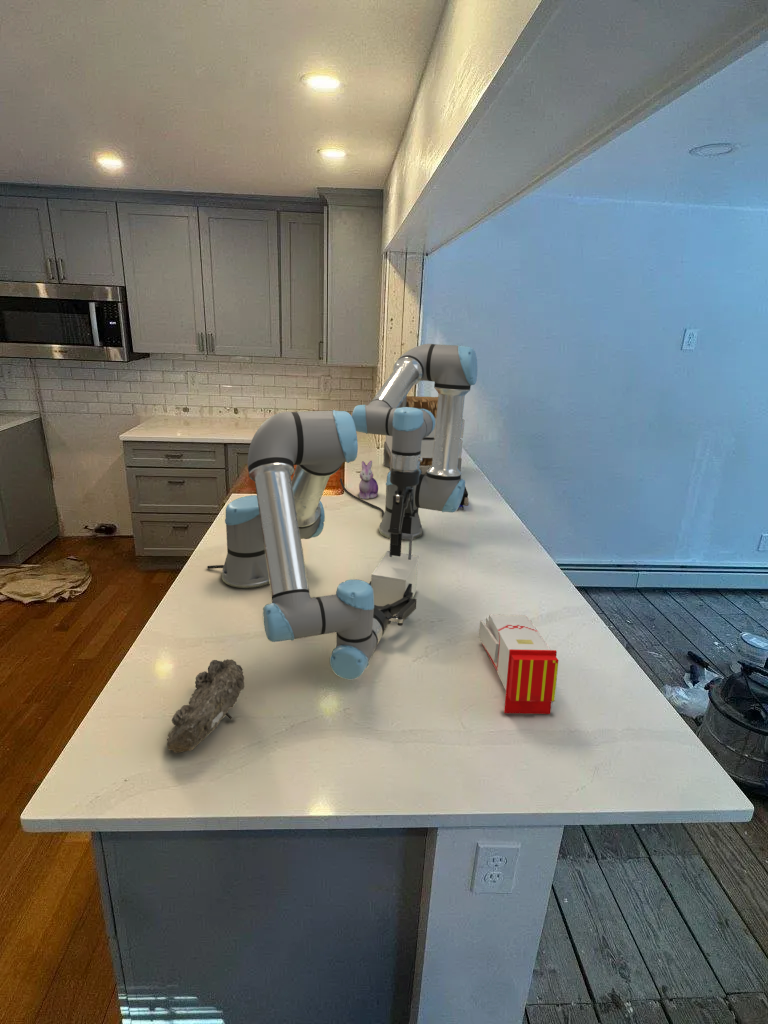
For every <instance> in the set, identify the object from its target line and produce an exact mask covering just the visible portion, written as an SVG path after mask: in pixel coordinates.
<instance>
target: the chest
mask: <svg viewBox="0 0 768 1024" xmlns="http://www.w3.org/2000/svg"><path fill="white" fill-rule="evenodd" d="M418 566H419V560H418V561H417V563H416V564H415V566H414V568H413V570H412V572H411V574H410V576H409V578H408V580H407V581H406V583H405V582H398V581H392V580H386V579H380V578H373V577H370V581H371V587H372V588H373V594H374V605H377V606H385V605H387V604H392V603H394V602H396V601H398V600H400V599H402V598H403V595H404V593H405V591H406V589H407V587H408V585H409V584H412V591H411V592H412V593H413V598H414V596H415V594H416V593H417V581H418V569H419V568H418ZM398 613H399V612H398ZM395 615H396V614H395ZM395 615H393V616H395Z"/></svg>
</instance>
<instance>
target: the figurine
mask: <svg viewBox="0 0 768 1024" xmlns="http://www.w3.org/2000/svg"><path fill="white" fill-rule="evenodd" d="M372 466H373V460H369V461H368V463H367V464H366V462H365V461H364V460H362V461H361V471H360V472H359V478H360V482H359V484H358V490H359V492H358V497H359V498H360V499H362V500H369V499H374V498H377V497H378V493H379V485H378V481H377V480H376V478H374V473H373V471H372Z"/></svg>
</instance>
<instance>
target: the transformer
mask: <svg viewBox="0 0 768 1024" xmlns="http://www.w3.org/2000/svg"><path fill="white" fill-rule="evenodd" d="M437 402H438V396H415V395H414V396H413V395H412V396H411V395H408V394H407V395H406V397H405V398H404V400H403V402H402V403H401V405H400V406H399V408H402V407H412V408H418V409H426V410H428V411H430V412H431V413H432V414H433V416H434V418H435V424H436V413H437ZM464 429H465V419H464V418H462V428H461V437H460V447H459V456H458V465H457V468H458V470H459V471H460V472H461V473H462V461H463V460H462V453H463V442H464V441H463V440H462V439H463V438H464V431H465V430H464ZM434 435H435V427H434V429H433V431H432V432H431V433H430V434H429V436H427V437H425V438H423V439H422V442H421V454H420V458H422V459H423V460H422V461H421V462H420V467H431V466H432V457H433V446H434ZM391 451H392V436H388V435H385V438H384V442H383V466H384V467H388V468H389V472H390V471H391V469H392V467H391Z"/></svg>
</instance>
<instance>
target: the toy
mask: <svg viewBox="0 0 768 1024" xmlns="http://www.w3.org/2000/svg"><path fill="white" fill-rule="evenodd" d="M477 635H478V637H477V638H478V639H479V641H480V643H481V645H482V647H483V649H484V651H485V652H486V654H487V655H488V658H489V659H490V661H491V663H492V665H493V667H494V669H495V671H496V672H497V675H498V677H499V679H500V682H501V684H502V685H503V688H504V690H505V699H504V709H503V712H504V714H522V715H523V714H528V715H535V714H536V715H540V714H541V715H551V710H552V702H555V700H556V699H555V698H556V688H557V679H558V672H559V671H558V669H559V661H560V660H559V659H558V658H557V649H551V648H550V646H549V645H548V643H547V642H546V640H545V639H544V638H543V636H542V635H541V634H540V632H539V630H538V629H536V626H535V624H533V622H532V619H530V618H529V617H528V615H527V614H501V613H500V614H495V613H493V614H492V613H489V614H488V616H486V617H485V622H484V620H483V619H480V620H479V628H478V634H477Z"/></svg>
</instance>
